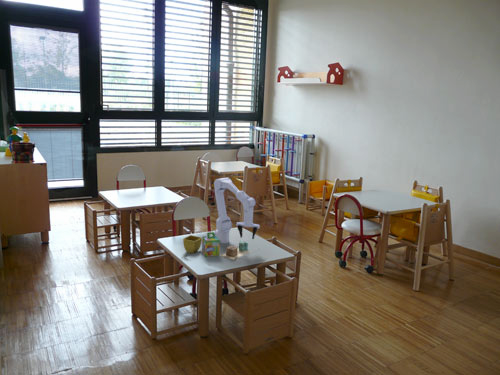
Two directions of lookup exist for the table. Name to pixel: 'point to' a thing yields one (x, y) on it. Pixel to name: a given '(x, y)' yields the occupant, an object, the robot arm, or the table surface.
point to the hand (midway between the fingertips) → (247, 237)
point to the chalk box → (210, 245)
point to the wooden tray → (239, 250)
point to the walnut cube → (231, 251)
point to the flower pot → (192, 243)
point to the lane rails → (243, 255)
